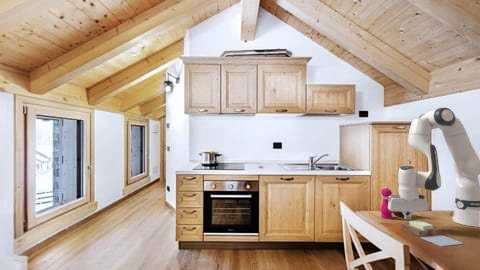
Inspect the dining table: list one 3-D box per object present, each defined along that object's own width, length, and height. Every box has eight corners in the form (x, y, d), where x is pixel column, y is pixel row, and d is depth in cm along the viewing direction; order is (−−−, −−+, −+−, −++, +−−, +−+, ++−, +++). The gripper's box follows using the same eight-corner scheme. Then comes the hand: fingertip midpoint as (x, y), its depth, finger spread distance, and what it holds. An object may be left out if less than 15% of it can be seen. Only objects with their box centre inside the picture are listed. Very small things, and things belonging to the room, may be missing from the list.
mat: (441, 235, 141) (441, 234, 141) (463, 244, 129) (463, 243, 129) (420, 237, 138) (420, 237, 138) (441, 246, 127) (441, 245, 127)
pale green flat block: (418, 223, 151) (418, 220, 151) (432, 228, 142) (432, 225, 142) (409, 224, 150) (408, 220, 150) (423, 229, 141) (423, 226, 141)
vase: (403, 219, 169) (403, 194, 169) (387, 214, 179) (387, 191, 179) (415, 217, 173) (415, 192, 173) (399, 212, 183) (399, 189, 183)
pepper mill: (386, 219, 168) (386, 187, 168) (377, 216, 175) (377, 185, 175) (395, 218, 170) (395, 186, 170) (386, 215, 177) (386, 184, 177)
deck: (421, 227, 153) (421, 222, 153) (441, 235, 141) (441, 229, 141) (400, 229, 150) (400, 224, 150) (419, 237, 138) (419, 231, 138)
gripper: (390, 195, 152) (390, 220, 152) (429, 196, 150) (430, 221, 150) (385, 193, 158) (386, 217, 158) (423, 193, 156) (423, 217, 156)
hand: (407, 219), depth 154 cm, fingers closed
